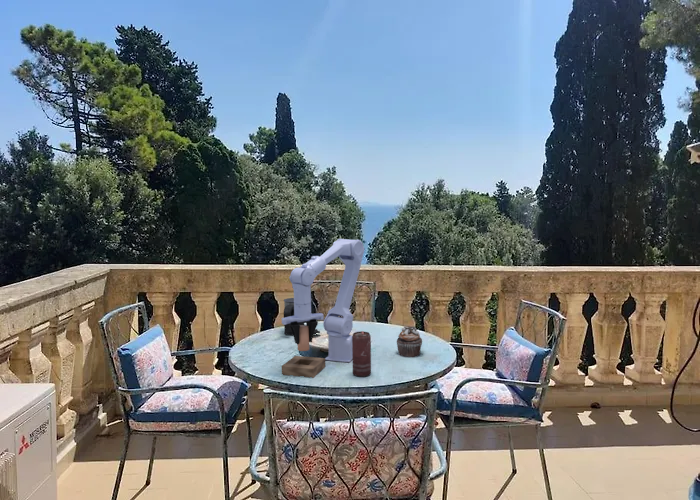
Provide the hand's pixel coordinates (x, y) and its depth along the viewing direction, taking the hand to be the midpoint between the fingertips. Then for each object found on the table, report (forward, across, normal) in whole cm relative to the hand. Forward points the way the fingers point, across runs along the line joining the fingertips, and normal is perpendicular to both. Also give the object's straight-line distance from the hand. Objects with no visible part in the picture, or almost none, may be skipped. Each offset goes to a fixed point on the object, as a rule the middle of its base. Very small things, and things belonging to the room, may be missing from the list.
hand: (303, 342), depth 177 cm
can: (+10, -16, +13) cm, 22 cm away
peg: (+2, 0, 0) cm, 3 cm away
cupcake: (+10, -42, +2) cm, 43 cm away
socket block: (+10, 0, 0) cm, 10 cm away
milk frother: (+10, -17, -44) cm, 48 cm away
